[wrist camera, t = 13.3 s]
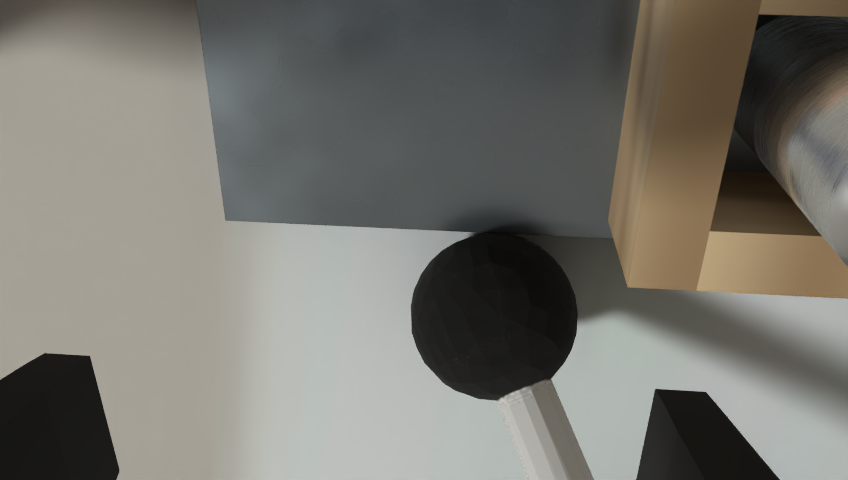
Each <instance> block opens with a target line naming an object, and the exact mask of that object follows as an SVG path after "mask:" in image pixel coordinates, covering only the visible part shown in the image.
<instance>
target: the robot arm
mask: <svg viewBox="0 0 848 480" xmlns="http://www.w3.org/2000/svg"><path fill="white" fill-rule="evenodd" d="M118 474H119V467H118V463H117V459H116V455H115V451H114V447H113V444H112V440H111V436H110V432H109V428H108V424H107V420H106V417H105V413H104V409H103V405H102V401H101V397H100V393H99V390H98V386H97V382H96V378H95V374H94V370H93V366H92V362H91V359H90V356H81V355H64V354H47V353H44V354H43V355H41V356H39V357H37V358H36V359H34V360H32V361H30V362H29V363H27V364H25V365H24V366H22V367H20V368H19V369H17V370H15V371H14V372H12V373H11V374H9V375H7V376H6V377H4V378H3V379H1V380H0V480H116V479H117V476H118ZM636 480H780V479H779V478H778V477H777V476H776V475H775V474H774V472H773V471H772V470H771V469H770V468H769V466H768V465H767V464H766V463H765V462H764V461H763V459H762V458H761V457H760V456H759V455H758V453H757V452H756V451H755V450H754V449H753V447H752V446H751V445H750V444H749V443H748V442H747V440H746V439H745V438H744V437H743V435H742V434H741V433H740V432H739V431H738V429H737V428H736V427H735V426H734V425H733V423H732V422H731V421H730V420H729V419H728V417H727V416H726V415H725V414H724V413H723V411H722V410H721V409H720V408H719V407H718V406H717V404H716V403H715V402H714V401H713V400H712V399H711V397H710V396H709V395H708V394H707V393H706V392H696V391H679V390H662V389H655V393H654V398H653V403H652V408H651V412H650V417H649V422H648V427H647V432H646V436H645V441H644V446H643V451H642V455H641V460H640V465H639V470H638V475H637V479H636Z"/></svg>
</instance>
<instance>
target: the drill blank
mask: <svg viewBox="0 0 848 480" xmlns="http://www.w3.org/2000/svg"><path fill="white" fill-rule="evenodd" d="M733 128H734V129H735V130H736V131H737V133H738V134H739V135H740V136H741V137H742V139H743V140H744V141H745V142H746V144H747V145H748V146H749V147H750V148H751V150H752V151H753V152H754V153H755V155H756V156H757V157H758V158H759V160H760V161H761V162H762V163H763V164H764V166H765V167H766V168H767V169H768V171H769V172H770V173H771V174H772V175H773V177H774V178H775V179H776V180H777V182H778V183H779V184H780V185H781V186H782V188H783V189H784V190H785V191H786V193H787V194H788V195H789V196H790V197H791V199H792V200H793V201H794V202H795V204H796V205H797V206H798V207H799V208H800V210H801V211H802V212H803V213H804V215H805V216H806V217H807V218H808V219H809V221H810V222H811V223H812V224H813V226H814V227H815V228H816V229H817V230H818V232H819V233H820V234H821V235H822V237H823V238H824V239H825V240H826V241H827V243H828V244H829V245H830V246H831V248H832V249H833V250H834V251H835V253H836V254H837V255H838V256H839V257H840V259H841V260H842V261H843V262H844V264H845V265H846V266H847V267H848V23H847V22H845V21H843V20H841V19H840V18H838V17H835V16H800V15H786V16H782V17H780V18H777V19H775V20H772V21H770V22H769V23H767V24H765V25H763V26H762V27H760V28H759V29H758V30H756V31H755V32H754V37H753V41H752V46H751V50H750V55H749V59H748V64H747V68H746V72H745V77H744V81H743V86H742V90H741V95H740V99H739V104H738V108H737V112H736V117H735V121H734V126H733Z"/></svg>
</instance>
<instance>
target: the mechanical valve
mask: <svg viewBox="0 0 848 480" xmlns="http://www.w3.org/2000/svg"><path fill="white" fill-rule="evenodd" d="M577 317H578V312H577V305H576V298H575V294H574V292H573V289H572V287H571V284H570V282H569V280H568V278H567V276H566V275H565V273H564V271H563V270H562V268H561V267H560V266H559V265H558V263H557V262H556V261H555V260H554V258H553V257H552V256H551V255H549V254H548V253H547V252H546V251H544V250H543V249H542V248H541V247H539V246H537V245H535V244H534V243H532V242H530V241H528V240H526V239H524V238H520V237H517V236H513V235H510V234H495V233H489V234H483V235H476V236H472V237H469V238H466V239H464V240H461V241H459V242H456V243H454V244H452V245H451V246H449V247H447V248H446V249H444V250H442V251H441V252H440V253H439V254H438V255H437V256H436V257H435V258H434V259H433V260H431V262H430V263H429V264H428V266H427V267H426V268H425V270H424V271H423V273H422V274H421V276H420V278H419V281H418V283H417V285H416V287H415V289H414V293H413V298H412V304H411V318H412V334H413V337H414V340H415V343H416V346H417V349H418V351H419V353H420V355H421V357H422V359H423V361H424V363H425V364H426V365H427V366H428V367H429V368H430V369H431V370H432V371H433V372H434V373H435V374H436V375H437V377H438V378H439V379H440V380H441V381H442V382H443V383H444V384H446V385H448V386H449V387H451V388H452V389H454V390H456V391H458V392H461V393H464V394H467V395H470V396H472V397H475V398H478V399H486V400H497V403H498V405H499V408H500V410H501V413H502V415H503V418H504V420H505V423H506V425H507V428H508V430H509V433H510V435H511V438H512V440H513V443H514V445H515V448H516V450H517V453H518V455H519V458H520V460H521V463H522V465H523V468H524V470H525V473H526V475H527V478H528V480H594V479H593V477H592V475H591V472H590V470H589V467H588V465H587V463H586V460H585V458H584V456H583V453H582V451H581V449H580V446H579V444H578V442H577V439H576V437H575V434H574V432H573V430H572V427H571V425H570V423H569V420H568V418H567V416H566V413H565V411H564V409H563V406H562V404H561V401H560V399H559V397H558V394H557V392H556V390H555V387H554V385H553V383H552V380H551V378H552V377H553V376H554V374H555V373H556V372H557V371H558V370H559V368H560V367H561V366H562V365H563V364H564V362H565V360H566V359H567V357H568V355H569V353H570V351H571V349H572V346H573V343H574V340H575V337H576V332H577Z"/></svg>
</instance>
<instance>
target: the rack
mask: <svg viewBox="0 0 848 480" xmlns="http://www.w3.org/2000/svg"><path fill="white" fill-rule="evenodd" d="M759 14H765V15H800V16H836V17H848V0H640V7H639V14H638V20H637V27H636V34H635V41H634V47H633V54H632V61H631V68H630V74H629V81H628V88H627V95H626V101H625V108H624V115H623V122H622V128H621V135H620V142H619V149H618V155H617V162H616V169H615V176H614V182H613V189H612V196H611V203H610V209H609V216H608V222H609V226H610V229H611V233H612V236H613V239H614V243H615V246H616V250H617V253H618V256H619V260H620V263H621V267H622V270H623V273H624V277H625V280H626V284H627V287H630V288H649V289H669V290H689V291H709V292H729V293H748V294H768V295H788V296H808V297H828V298H847V299H848V267H847V266H846V265H845V264H844V262H843V261H842V260H841V259H840V257H839V256H838V255H837V254H836V253H835V251H834V250H833V249H832V248H831V246H830V245H829V244H828V243H827V241H826V240H825V239H824V238H823V237H822V235H821V234H820V233H819V232H818V230H817V229H816V228H815V227H814V226H813V224H812V223H811V222H810V221H809V219H808V218H807V217H806V216H805V215H804V213H803V212H802V211H801V210H800V208H799V207H798V206H797V205H796V204H795V202H794V201H793V200H792V199H791V197H790V196H789V195H788V194H787V193H786V191H785V190H784V189H783V188H782V186H781V185H780V184H779V183H778V182H777V180H776V179H775V178H774V177H773V175H772V174H771V173H750V172H725V171H723V170H724V166H725V161H726V157H727V152H728V148H729V144H730V139H731V135H732V130H733V126H734V121H735V117H736V112H737V108H738V104H739V99H740V95H741V90H742V86H743V81H744V77H745V72H746V68H747V64H748V59H749V55H750V50H751V46H752V41H753V37H754V32H755V28H756V24H757V19H758V15H759Z"/></svg>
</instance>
